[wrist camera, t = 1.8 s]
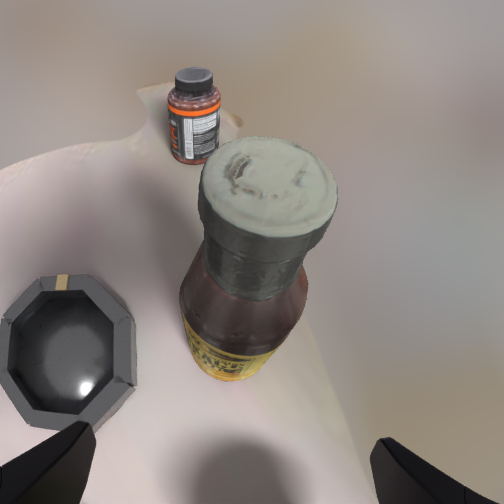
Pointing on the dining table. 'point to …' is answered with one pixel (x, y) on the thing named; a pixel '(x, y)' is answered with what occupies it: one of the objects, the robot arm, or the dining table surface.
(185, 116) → the supplement bottle
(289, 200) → the sauce bottle
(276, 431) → the dining table surface
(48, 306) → the dark grey octagonal tray
